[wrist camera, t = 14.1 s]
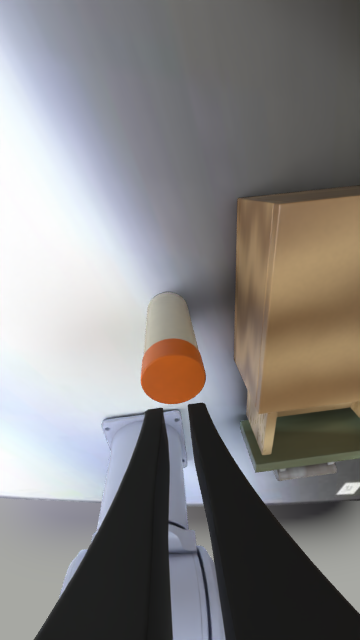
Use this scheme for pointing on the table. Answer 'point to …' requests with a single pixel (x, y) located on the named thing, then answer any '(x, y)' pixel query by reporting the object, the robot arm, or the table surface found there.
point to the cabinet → (298, 298)
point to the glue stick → (171, 352)
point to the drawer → (302, 439)
